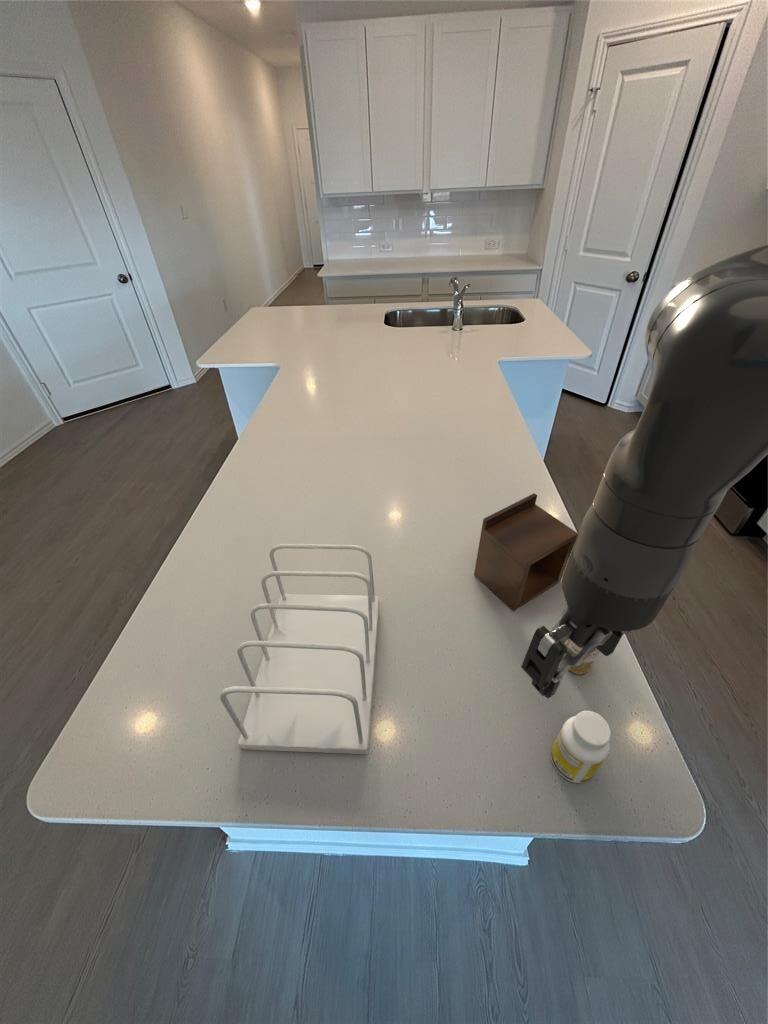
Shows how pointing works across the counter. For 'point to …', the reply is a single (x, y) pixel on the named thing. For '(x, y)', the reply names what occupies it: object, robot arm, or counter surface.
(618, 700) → the counter surface
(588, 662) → the sprinkles bottle
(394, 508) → the counter surface
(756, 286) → the robot arm
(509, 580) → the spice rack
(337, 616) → the file sorter
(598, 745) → the supplement bottle
